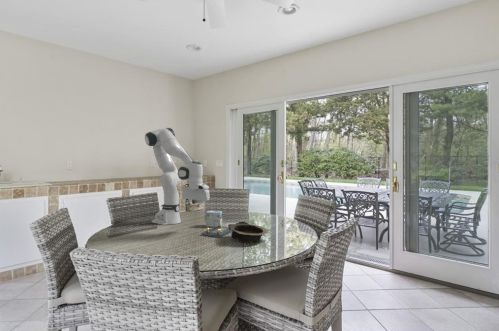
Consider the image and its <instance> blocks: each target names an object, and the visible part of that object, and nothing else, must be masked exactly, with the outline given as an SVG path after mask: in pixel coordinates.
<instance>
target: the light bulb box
mask: <svg viewBox="0 0 499 331" xmlns="http://www.w3.org/2000/svg"><path fill="white" fill-rule="evenodd" d="M205 213H206V214H205V215H206V217H205V221H206V222H205V227H206V228H215V227H217V226H219V223H221V226H222V227H223V210H207V211H206V212H205Z"/></svg>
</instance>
